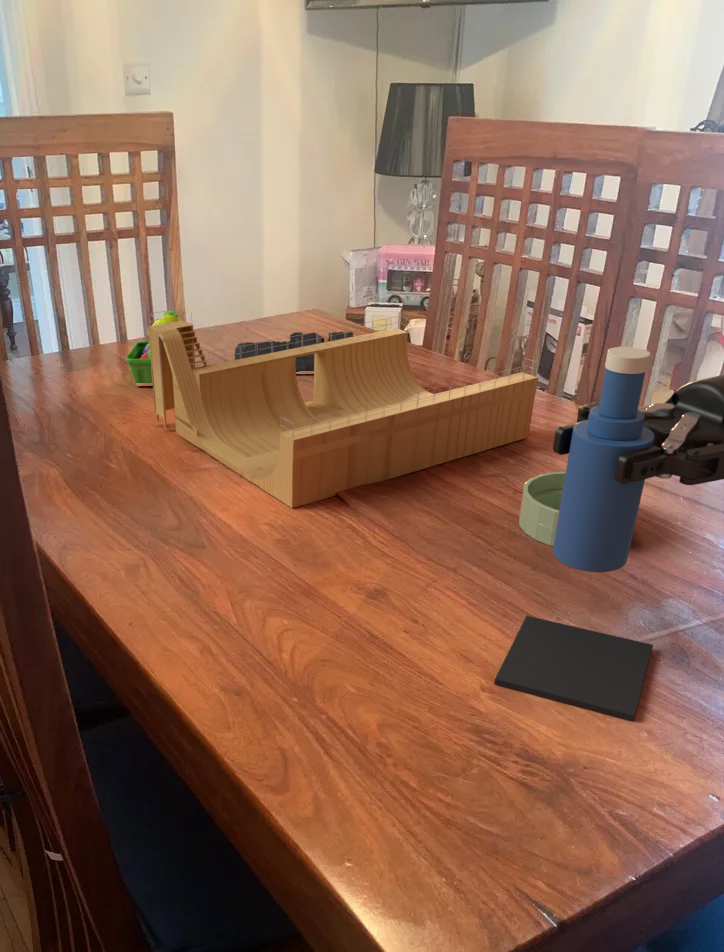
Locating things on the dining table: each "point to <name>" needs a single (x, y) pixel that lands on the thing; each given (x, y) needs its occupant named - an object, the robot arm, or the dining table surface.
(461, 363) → the dining table surface
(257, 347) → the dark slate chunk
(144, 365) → the fruit basket
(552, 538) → the bowl
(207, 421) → the skate ramp
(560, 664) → the mat
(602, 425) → the bottle
